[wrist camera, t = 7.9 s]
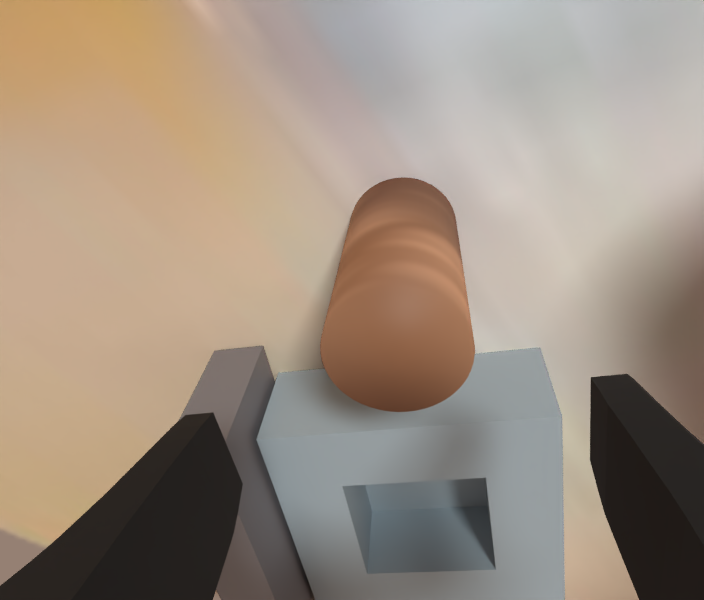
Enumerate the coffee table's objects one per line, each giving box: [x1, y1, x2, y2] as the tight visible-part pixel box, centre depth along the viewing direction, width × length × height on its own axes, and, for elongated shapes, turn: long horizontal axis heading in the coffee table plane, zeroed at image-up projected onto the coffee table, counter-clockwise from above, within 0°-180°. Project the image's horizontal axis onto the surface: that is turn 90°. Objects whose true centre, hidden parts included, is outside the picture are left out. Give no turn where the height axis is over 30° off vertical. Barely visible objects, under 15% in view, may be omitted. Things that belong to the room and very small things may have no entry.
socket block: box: [256, 348, 565, 600], centre depth 23 cm, size 10×10×4 cm
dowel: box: [320, 178, 475, 412], centre depth 16 cm, size 4×4×7 cm
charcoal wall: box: [179, 346, 315, 600], centre depth 23 cm, size 2×12×6 cm, turn 11°
